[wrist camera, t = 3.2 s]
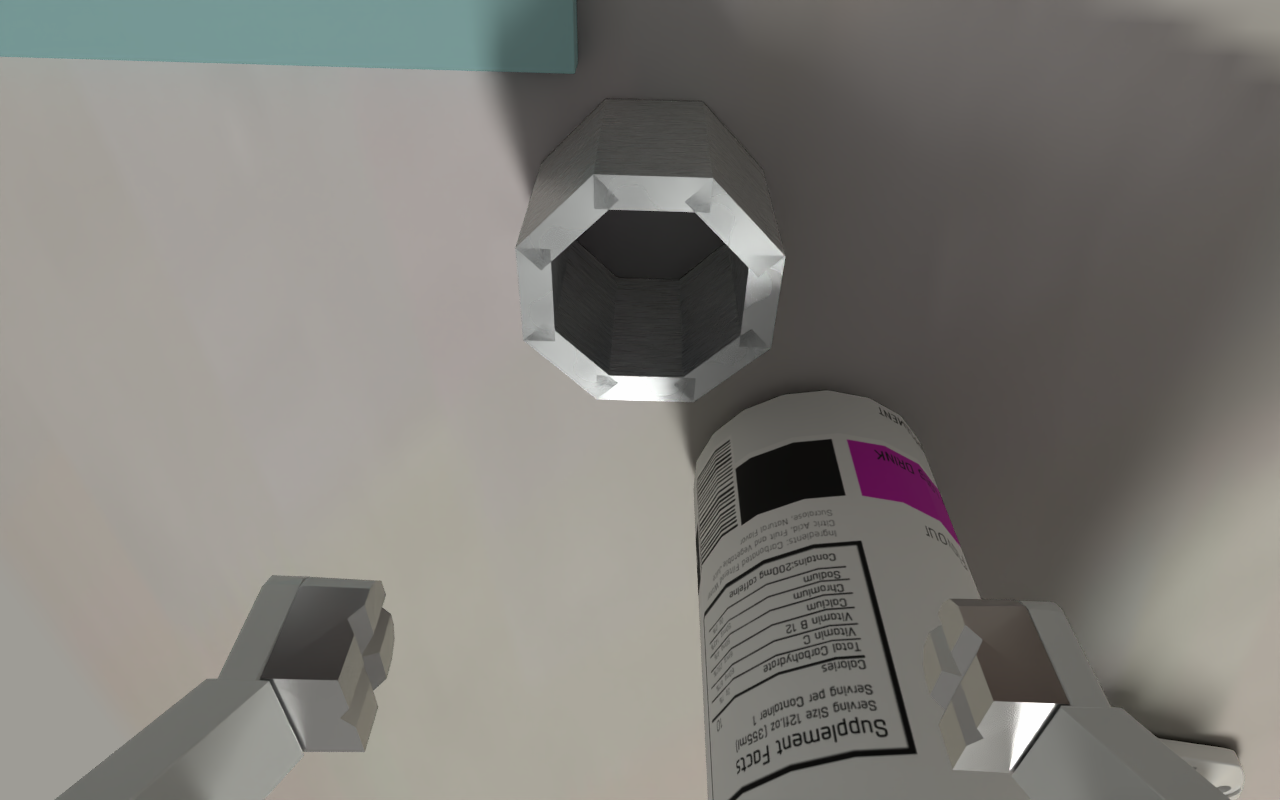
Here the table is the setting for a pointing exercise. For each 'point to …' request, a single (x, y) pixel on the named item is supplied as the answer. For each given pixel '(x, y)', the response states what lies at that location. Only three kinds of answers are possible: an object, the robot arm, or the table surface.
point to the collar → (649, 308)
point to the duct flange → (301, 32)
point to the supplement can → (825, 607)
